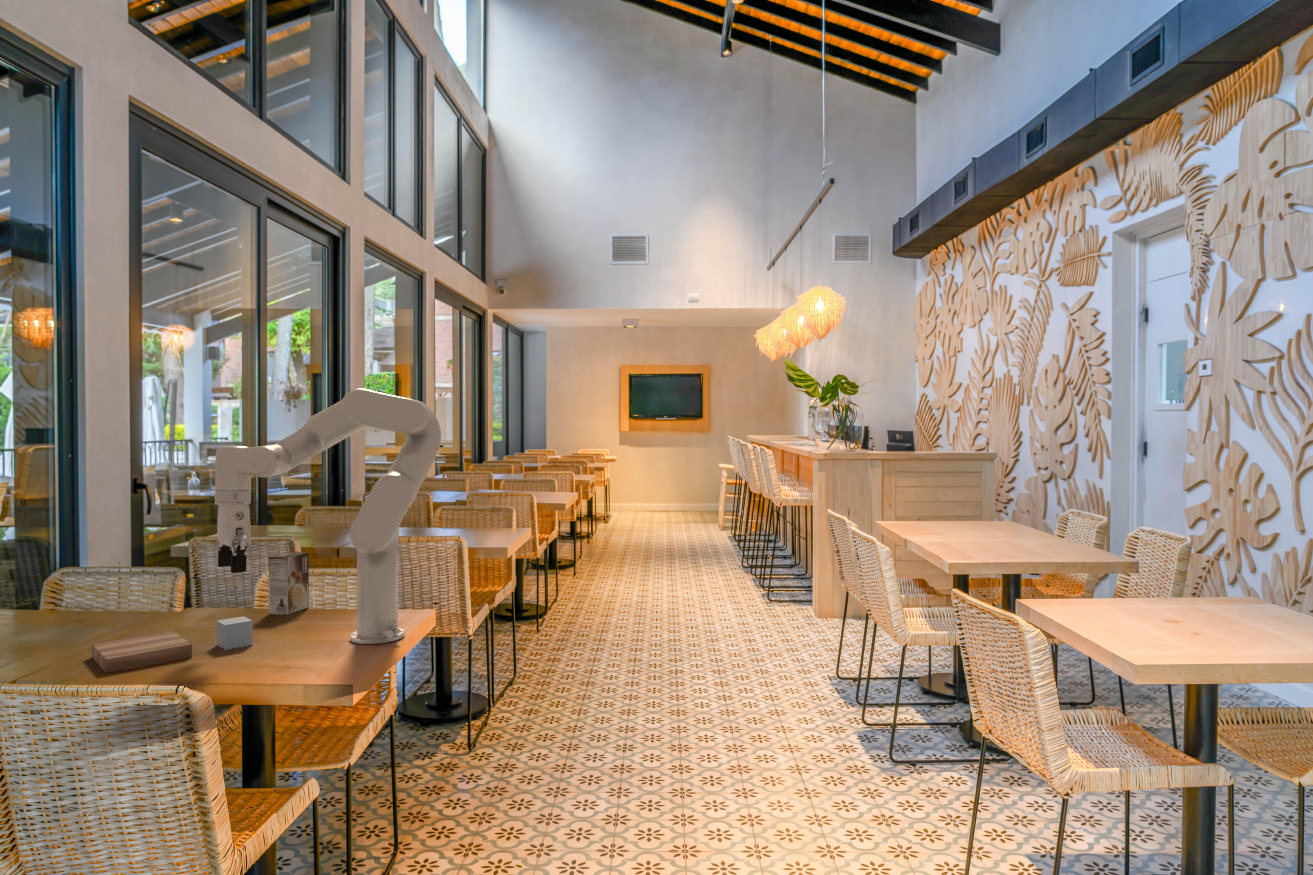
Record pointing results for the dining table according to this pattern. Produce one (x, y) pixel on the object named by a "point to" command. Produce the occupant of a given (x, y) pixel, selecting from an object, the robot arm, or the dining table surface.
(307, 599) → the coffee box
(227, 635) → the light grey cube
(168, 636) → the walnut base
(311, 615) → the dining table surface
